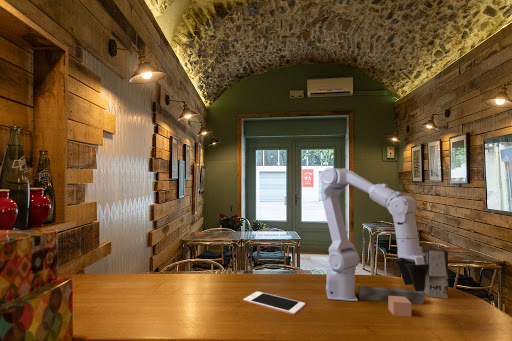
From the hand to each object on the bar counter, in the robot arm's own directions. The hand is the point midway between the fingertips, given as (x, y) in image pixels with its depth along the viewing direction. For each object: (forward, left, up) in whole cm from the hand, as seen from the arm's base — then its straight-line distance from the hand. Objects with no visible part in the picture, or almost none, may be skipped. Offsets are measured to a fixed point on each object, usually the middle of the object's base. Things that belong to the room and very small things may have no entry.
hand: (414, 287), depth 84 cm
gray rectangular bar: (-1, +17, -10) cm, 19 cm away
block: (-1, +7, -10) cm, 12 cm away
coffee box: (+17, +27, -10) cm, 33 cm away
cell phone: (-39, +7, -11) cm, 41 cm away
